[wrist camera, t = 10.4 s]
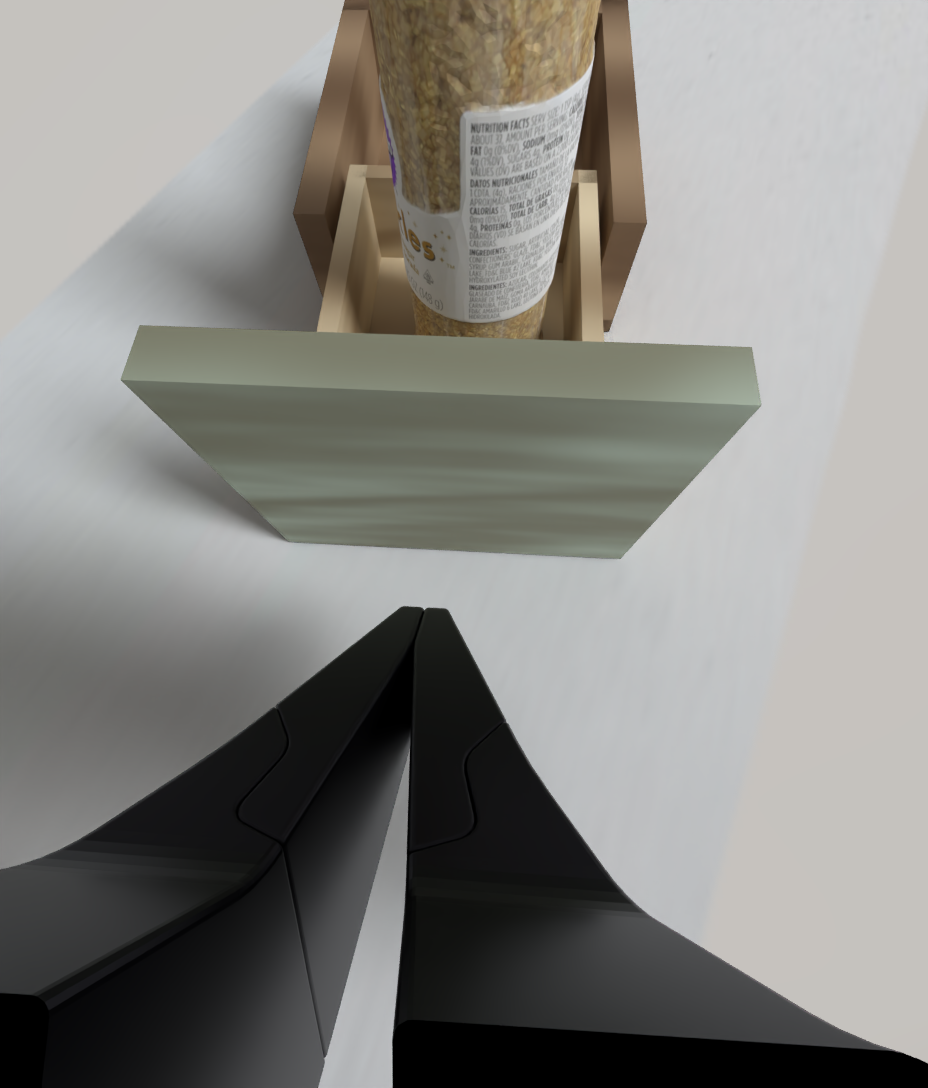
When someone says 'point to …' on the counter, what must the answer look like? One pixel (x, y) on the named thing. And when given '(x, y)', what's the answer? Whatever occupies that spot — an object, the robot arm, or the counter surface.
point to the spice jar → (482, 151)
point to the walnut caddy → (360, 139)
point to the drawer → (447, 407)
